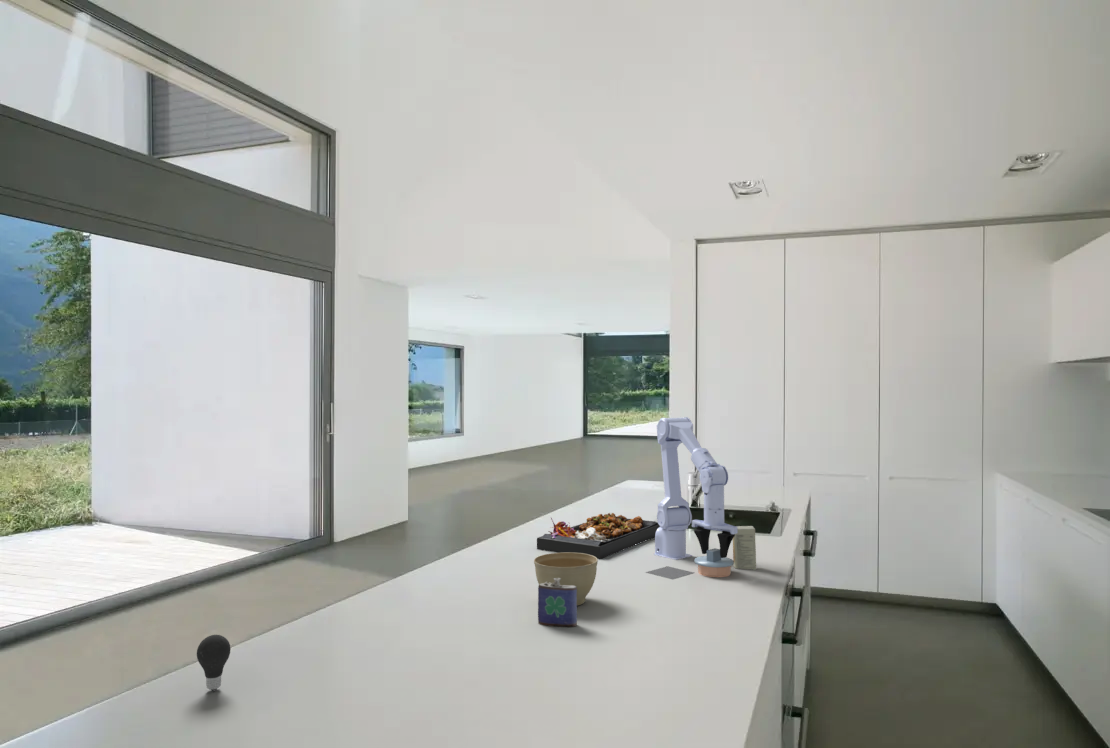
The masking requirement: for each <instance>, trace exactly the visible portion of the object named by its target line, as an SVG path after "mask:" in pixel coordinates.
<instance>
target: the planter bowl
mask: <svg viewBox="0 0 1110 748" xmlns="http://www.w3.org/2000/svg"><path fill="white" fill-rule="evenodd" d="M598 562H599V559H597V558H596V557H595V556H592V555H589V554H584V553H570V552H564V553H558V552H552V553H546V554H542V555H538V556H536V557H534V560H533V564H534V569H535V576H536V581H537V583H538V585H539V584H541V583H545V582H547V583H549V582H550V583H553V582H554V581H555V580H554V578H561V580H560V585H573V586H576V587H577V606H581V605H582V604H583V605H584V603H585V602H586V598H587V596H588V595H589V593H590V591H591V590H592V588H593V586H594V583H595V580H596V577H597V569H598V568H597V567H598ZM550 583H549V584H550Z"/></svg>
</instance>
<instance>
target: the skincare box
mask: <svg viewBox="0 0 1110 748" xmlns="http://www.w3.org/2000/svg"><path fill="white" fill-rule="evenodd" d="M736 526H737V527H738V533H737V534H735V536H734V537H733V539H732V556H733V557H732V558H733V559H732V560H733V561H734V564H733V565H732V566H733V568H734V569H735V570H736V569H737V570H754V571H755V570H757V551H756V548H757V547H756V544H757V543H756V528H755V527H754V526H753V525H741V526H740V525H736Z"/></svg>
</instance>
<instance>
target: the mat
mask: <svg viewBox="0 0 1110 748" xmlns="http://www.w3.org/2000/svg"><path fill="white" fill-rule="evenodd" d="M644 573H646V574H650V575H654V576H658V577H662V578H665V579H669V580H675V579H679V578H682V577H685V576H690V575H693V574H695V572H693V571H689V570H684V569H680V568H676V567H674V566H673V567H672V566H662V567H659V568H657V569H652V570H648V571H645V572H644Z"/></svg>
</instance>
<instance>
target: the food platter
mask: <svg viewBox="0 0 1110 748" xmlns="http://www.w3.org/2000/svg"><path fill="white" fill-rule="evenodd" d="M550 520H551V521H552V524H553V526H552V527H551V526H550V527H549V528H550V529H551V528H553V529H552V531H550V530H548V532H549V533H544V534H543V535H542V536H538V537H536V550H541V551H546V552H552V553H564V552H570V553H584V554H589V555H592V556H595V557H596V558H597V559H598V560H602V559H604V558H606V557H610V556H612V555H614V553H615V554H617V553H619V551H620V552H622V551H624V550H623V549H625V550H627V549H629V548H628V547H630V548H631V546H632V547H634V546H633V545H635V544H637V545H639V544H638V543H640V542H642V543H644V542H643V541H645V540H647V541H649V540H648V539H650V538H652V539H654V538H653V537H655V534H656V531H657V529H658V528H659V527H660V525H659V524H658V522H657V521H656V520H655V521H652V520H644V519H643V518H642V517H641V516H639V515H638V516H635V517H633V518H627V516H624V515H622V514H620V515H618V516H616V514H615V513H614V512H609V513H607V514H606V513H605V514H602V513H599V514H597V515H594V516H591V517H587V518H586V521H585V522H582V523H580V524H576V525H573V526H571V525H570V524H569V523H568V524H567V523H566V522H565V521H561V520H560V521H558V522H557V523H555V522H554V520H553V518H552V517H550ZM650 540H651V539H650ZM645 542H646V541H645ZM640 544H641V543H640ZM635 546H636V545H635ZM626 548H627V549H626ZM621 550H622V551H621ZM616 552H617V553H616Z"/></svg>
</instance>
